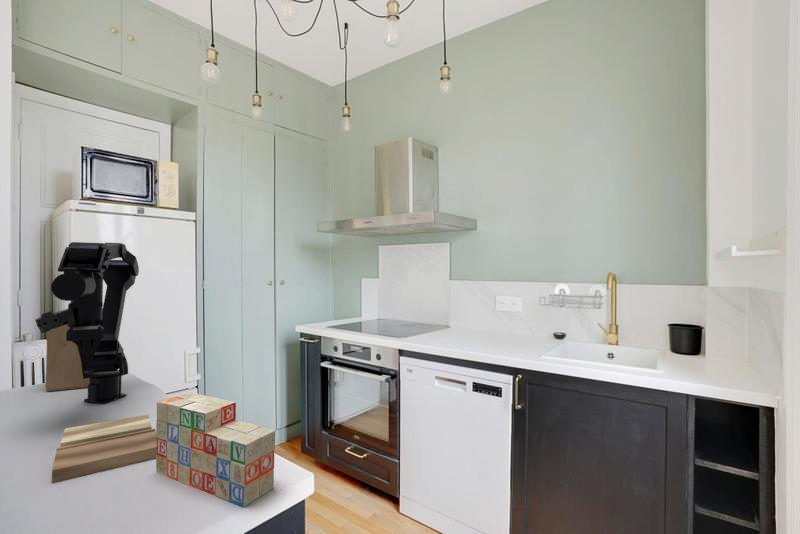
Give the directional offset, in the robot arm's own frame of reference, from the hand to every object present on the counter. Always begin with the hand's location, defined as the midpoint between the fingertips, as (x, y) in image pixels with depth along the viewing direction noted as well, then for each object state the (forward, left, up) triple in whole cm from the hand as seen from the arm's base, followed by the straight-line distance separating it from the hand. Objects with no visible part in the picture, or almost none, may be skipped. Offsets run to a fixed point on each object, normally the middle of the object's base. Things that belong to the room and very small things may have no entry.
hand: (85, 366), depth 90 cm
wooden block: (-19, -28, -12) cm, 36 cm away
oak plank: (+5, +12, -11) cm, 17 cm away
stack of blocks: (+15, +45, -12) cm, 49 cm away
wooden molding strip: (+14, +23, -12) cm, 29 cm away
